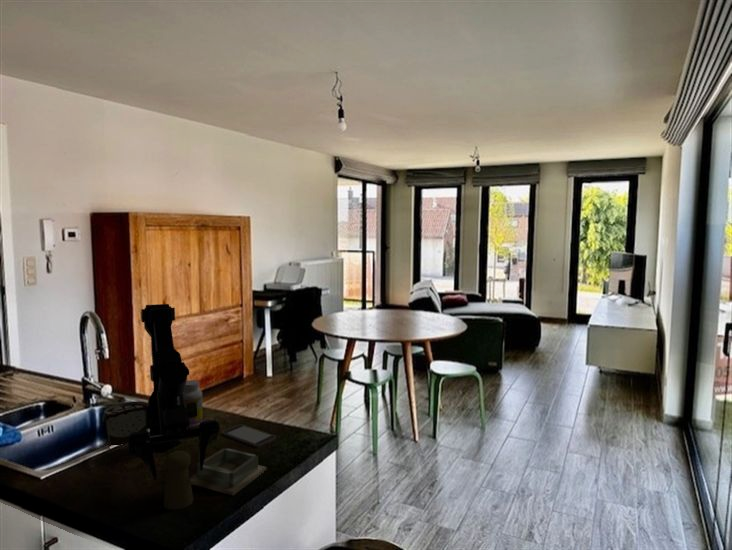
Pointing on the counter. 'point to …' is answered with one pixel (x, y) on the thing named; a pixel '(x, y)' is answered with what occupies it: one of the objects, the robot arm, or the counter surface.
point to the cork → (178, 481)
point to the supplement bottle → (193, 400)
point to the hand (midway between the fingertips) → (178, 474)
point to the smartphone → (248, 435)
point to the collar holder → (228, 471)
